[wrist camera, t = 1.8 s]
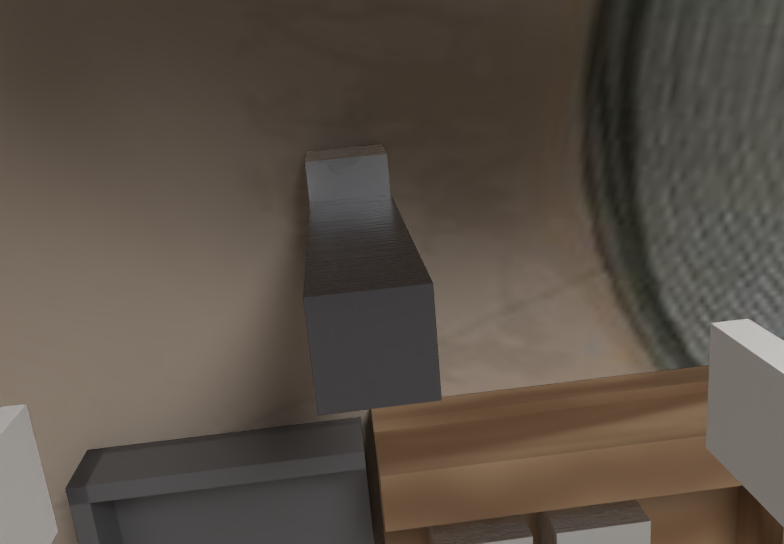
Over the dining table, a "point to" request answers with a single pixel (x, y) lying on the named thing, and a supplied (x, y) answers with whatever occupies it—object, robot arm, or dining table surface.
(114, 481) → the tray
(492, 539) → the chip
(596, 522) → the block
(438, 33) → the dining table surface
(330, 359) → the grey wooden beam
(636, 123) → the dining table surface
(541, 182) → the dining table surface
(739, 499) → the slot board
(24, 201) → the dining table surface
